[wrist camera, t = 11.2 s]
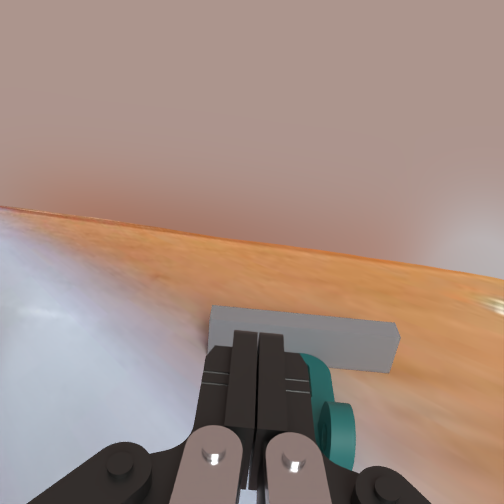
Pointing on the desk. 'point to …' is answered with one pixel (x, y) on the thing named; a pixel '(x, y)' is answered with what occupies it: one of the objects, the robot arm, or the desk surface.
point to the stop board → (313, 336)
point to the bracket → (330, 416)
